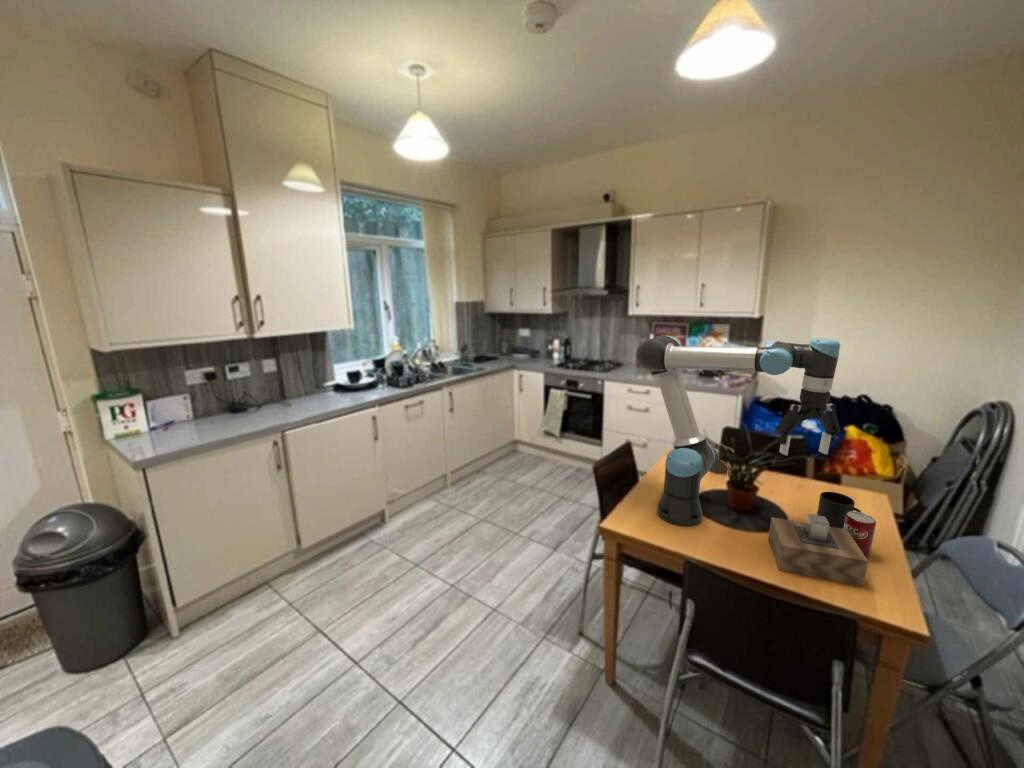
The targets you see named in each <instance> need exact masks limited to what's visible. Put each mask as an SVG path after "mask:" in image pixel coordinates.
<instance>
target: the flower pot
mask: <svg viewBox="0 0 1024 768" xmlns="http://www.w3.org/2000/svg"><path fill="white" fill-rule="evenodd" d="M723 446H724V447H726V448H727V449H729V450H730V451H732V452H733V453H734V454H735V450H734V449H733V448H731V447H729V446H726V445H723ZM713 450H714V449H713ZM714 453H715V461H714V464H713V466H712V468H711V469H710V470H709V471H712V473H713V472H714V473H717V474H723V473H725V472H726V471H727V469H726V465H725V463H723V462H722V461H720V460H719V459H718V455H717V453H716V451H715V450H714Z"/></svg>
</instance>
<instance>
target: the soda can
mask: <svg viewBox="0 0 1024 768" xmlns="http://www.w3.org/2000/svg"><path fill="white" fill-rule="evenodd" d="M876 526H877V521H876V520H875V518H874V517H873V516H871V515H870V514H867V513H864V512H862V511H861V512H857V511H854V510H853V511H850V512H848V513H846V515H845V520H844V526H843V529H847V530H848V532H849V533H850V535H851V536H852V538H853V539H854V541H855V542H856V544H857V545H858V547H859V548H860V550H861V551H862V553H863V554H864V556H865V557H866V558H868V557H870V555H871V550H872V545H873V540H874V536H875V532H876Z"/></svg>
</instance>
